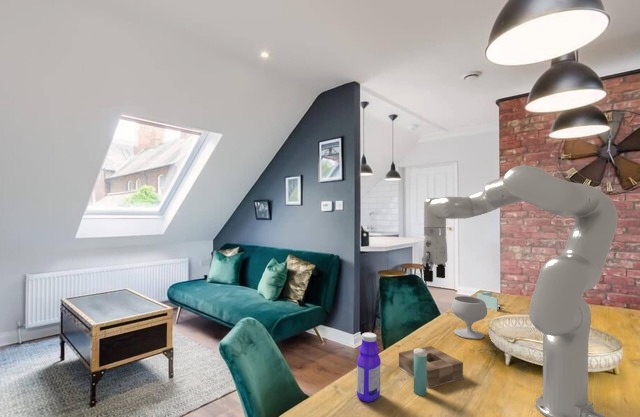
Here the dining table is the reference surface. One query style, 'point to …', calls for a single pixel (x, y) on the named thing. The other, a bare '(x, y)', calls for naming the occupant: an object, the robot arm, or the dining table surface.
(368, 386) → the bottle
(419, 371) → the peg
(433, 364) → the socket block
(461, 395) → the dining table surface
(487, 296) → the l-shaped corner panel
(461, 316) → the chalice
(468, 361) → the dining table surface
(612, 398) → the dining table surface
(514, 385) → the dining table surface
